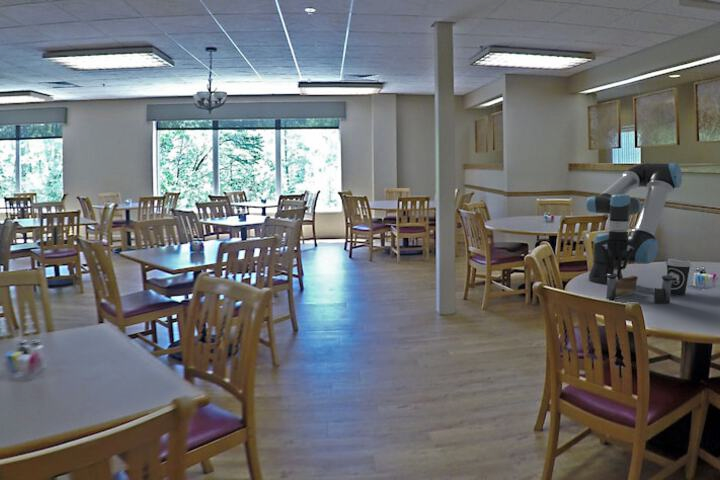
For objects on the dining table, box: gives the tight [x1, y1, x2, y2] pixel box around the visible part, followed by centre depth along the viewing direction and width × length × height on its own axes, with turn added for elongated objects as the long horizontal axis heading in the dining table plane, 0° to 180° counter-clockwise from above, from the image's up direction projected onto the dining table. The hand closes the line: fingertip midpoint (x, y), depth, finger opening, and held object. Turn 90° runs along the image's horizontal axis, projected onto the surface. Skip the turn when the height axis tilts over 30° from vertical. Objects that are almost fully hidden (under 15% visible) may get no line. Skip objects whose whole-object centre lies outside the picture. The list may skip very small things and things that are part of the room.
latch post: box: [653, 274, 673, 305], centre depth 226 cm, size 5×7×11 cm
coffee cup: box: [665, 257, 692, 297], centre depth 239 cm, size 10×10×15 cm
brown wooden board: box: [615, 275, 638, 299], centre depth 237 cm, size 2×17×7 cm, turn 126°
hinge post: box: [605, 273, 617, 301], centre depth 231 cm, size 4×4×11 cm
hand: (615, 284), depth 242 cm, fingers closed
